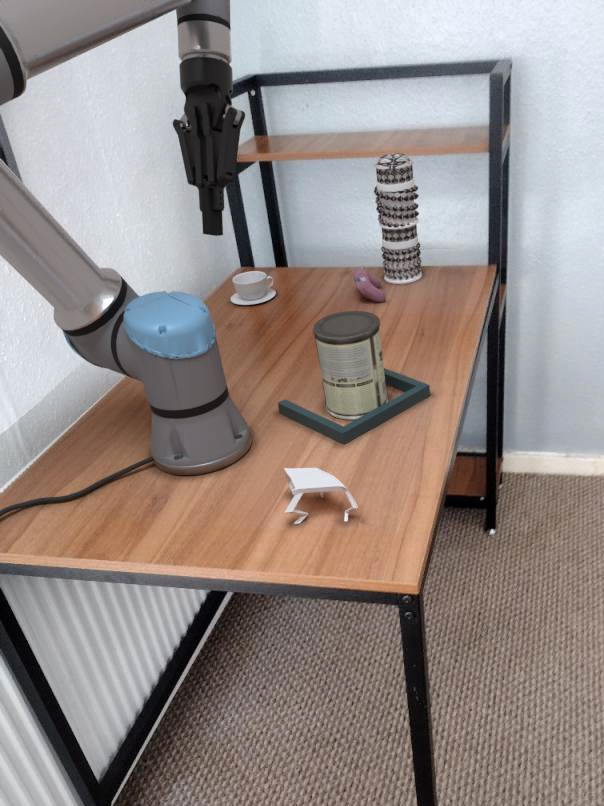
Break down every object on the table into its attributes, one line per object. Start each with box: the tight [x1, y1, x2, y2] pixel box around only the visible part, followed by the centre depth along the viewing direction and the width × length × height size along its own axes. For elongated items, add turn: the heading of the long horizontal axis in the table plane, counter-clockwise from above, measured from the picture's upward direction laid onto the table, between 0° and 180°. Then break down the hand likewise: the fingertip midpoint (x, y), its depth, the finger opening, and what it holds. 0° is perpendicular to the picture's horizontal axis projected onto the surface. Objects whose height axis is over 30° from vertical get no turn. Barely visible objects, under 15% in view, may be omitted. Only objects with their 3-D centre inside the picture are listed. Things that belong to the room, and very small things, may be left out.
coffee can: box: [312, 310, 389, 421], centre depth 125 cm, size 10×10×14 cm
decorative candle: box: [373, 152, 423, 285], centre depth 167 cm, size 9×9×25 cm
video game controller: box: [352, 266, 387, 303], centre depth 165 cm, size 10×5×7 cm, turn 6°
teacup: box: [230, 270, 277, 306], centre depth 171 cm, size 10×10×5 cm
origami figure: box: [283, 467, 359, 525], centre depth 104 cm, size 12×8×5 cm
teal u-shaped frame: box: [277, 367, 431, 445], centre depth 128 cm, size 16×19×2 cm
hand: (213, 234), depth 119 cm, fingers closed
